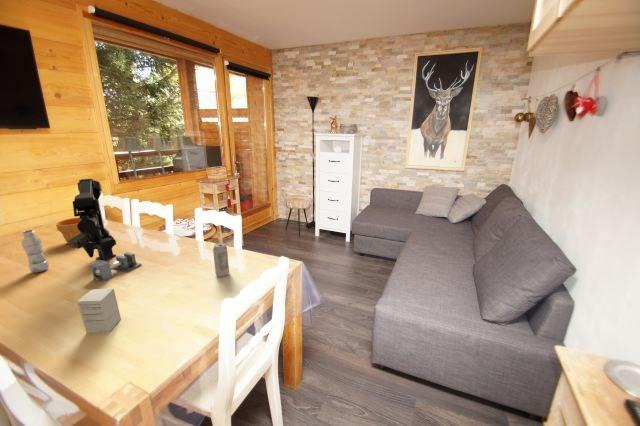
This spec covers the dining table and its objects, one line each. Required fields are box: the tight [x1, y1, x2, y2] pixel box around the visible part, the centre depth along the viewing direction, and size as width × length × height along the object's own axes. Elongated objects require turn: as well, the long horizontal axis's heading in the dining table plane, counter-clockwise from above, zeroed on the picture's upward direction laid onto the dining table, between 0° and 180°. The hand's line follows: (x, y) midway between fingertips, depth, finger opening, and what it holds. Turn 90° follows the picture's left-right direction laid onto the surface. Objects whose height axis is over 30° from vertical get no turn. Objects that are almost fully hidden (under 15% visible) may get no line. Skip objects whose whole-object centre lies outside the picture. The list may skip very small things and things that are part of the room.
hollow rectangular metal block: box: [89, 259, 114, 282], centre depth 127 cm, size 6×4×8 cm, turn 70°
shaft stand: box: [95, 252, 142, 276], centre depth 133 cm, size 10×17×6 cm, turn 160°
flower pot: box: [55, 217, 80, 246], centre depth 165 cm, size 14×14×13 cm
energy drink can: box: [212, 242, 230, 278], centre depth 130 cm, size 6×6×15 cm
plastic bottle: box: [21, 229, 50, 274], centre depth 131 cm, size 6×7×20 cm
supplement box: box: [77, 288, 122, 334], centre depth 96 cm, size 7×7×13 cm
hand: (98, 258), depth 125 cm, fingers open, 9 cm apart
